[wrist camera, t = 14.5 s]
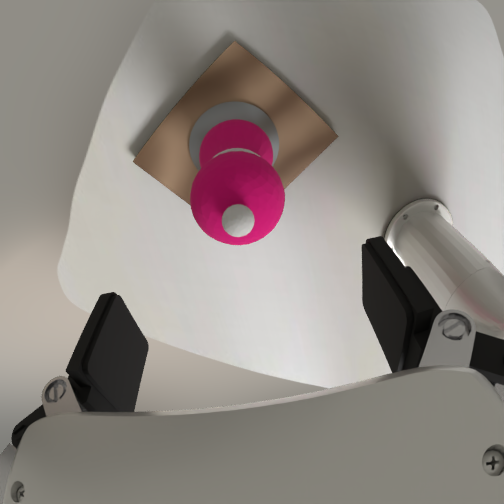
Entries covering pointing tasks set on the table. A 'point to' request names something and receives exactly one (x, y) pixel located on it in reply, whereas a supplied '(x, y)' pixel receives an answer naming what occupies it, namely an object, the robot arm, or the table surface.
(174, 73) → the table surface
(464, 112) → the table surface
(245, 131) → the pepper mill
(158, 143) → the walnut board
